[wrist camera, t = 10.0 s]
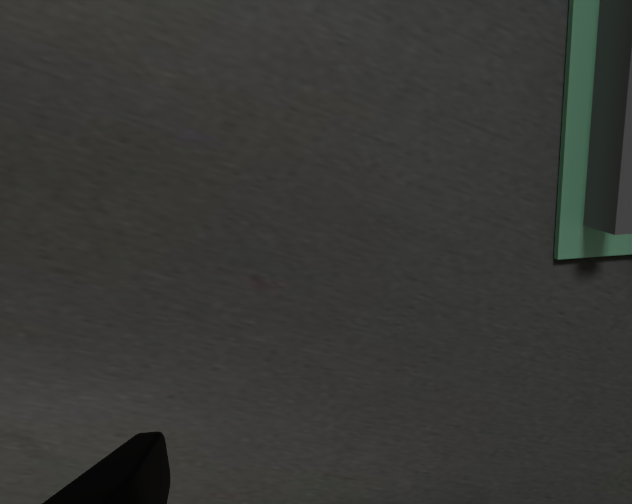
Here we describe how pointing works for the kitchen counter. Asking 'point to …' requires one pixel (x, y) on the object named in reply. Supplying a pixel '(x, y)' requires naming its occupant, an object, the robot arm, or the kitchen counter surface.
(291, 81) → the kitchen counter surface
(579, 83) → the header socket
